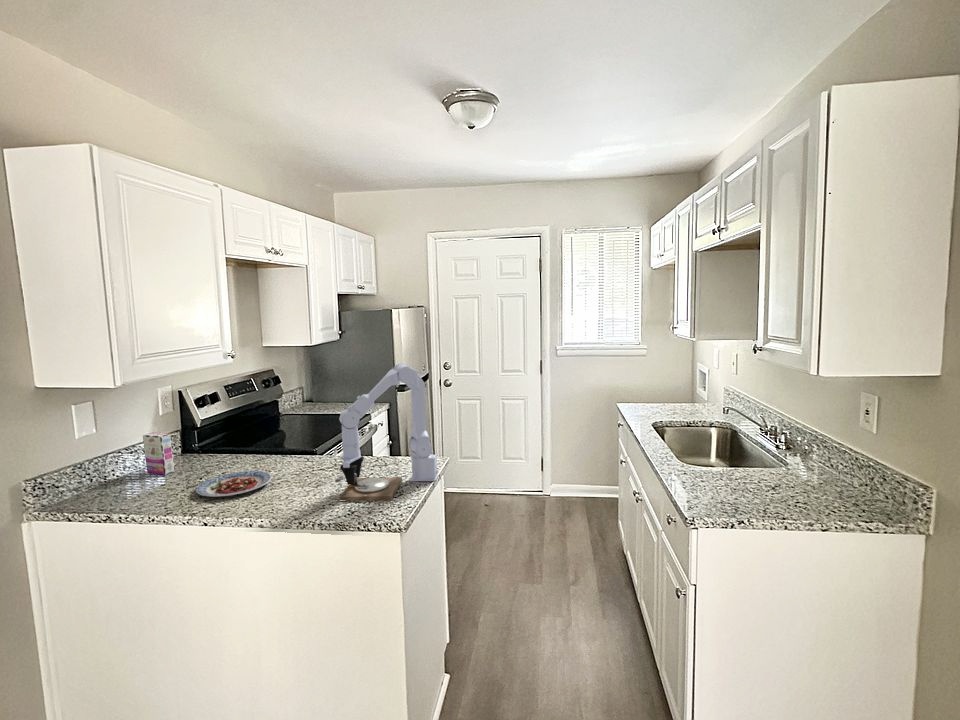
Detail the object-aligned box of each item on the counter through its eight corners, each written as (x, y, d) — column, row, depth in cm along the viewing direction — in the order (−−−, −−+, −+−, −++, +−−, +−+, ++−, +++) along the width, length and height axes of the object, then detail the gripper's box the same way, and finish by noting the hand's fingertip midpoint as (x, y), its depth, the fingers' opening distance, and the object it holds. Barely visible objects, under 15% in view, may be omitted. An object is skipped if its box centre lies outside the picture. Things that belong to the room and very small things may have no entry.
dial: (392, 480, 193) (391, 467, 192) (384, 492, 181) (383, 478, 181) (355, 480, 194) (354, 468, 193) (344, 493, 182) (343, 479, 181)
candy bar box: (176, 471, 219) (171, 433, 216) (165, 475, 214) (160, 436, 212) (157, 469, 223) (153, 431, 221) (146, 473, 218) (141, 434, 216)
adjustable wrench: (343, 482, 199) (342, 478, 199) (327, 482, 200) (326, 477, 200) (367, 460, 223) (366, 456, 223) (352, 460, 224) (352, 456, 224)
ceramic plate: (286, 477, 206) (285, 470, 205) (239, 504, 181) (239, 495, 181) (231, 474, 213) (230, 467, 212) (179, 499, 188) (178, 491, 188)
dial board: (402, 481, 196) (401, 476, 196) (391, 500, 178) (391, 495, 178) (355, 482, 197) (354, 477, 197) (339, 501, 179) (339, 496, 179)
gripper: (346, 438, 193) (348, 473, 195) (333, 450, 179) (336, 488, 181) (365, 437, 193) (367, 473, 195) (353, 449, 178) (356, 487, 180)
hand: (353, 480), depth 188 cm, fingers open, 6 cm apart
